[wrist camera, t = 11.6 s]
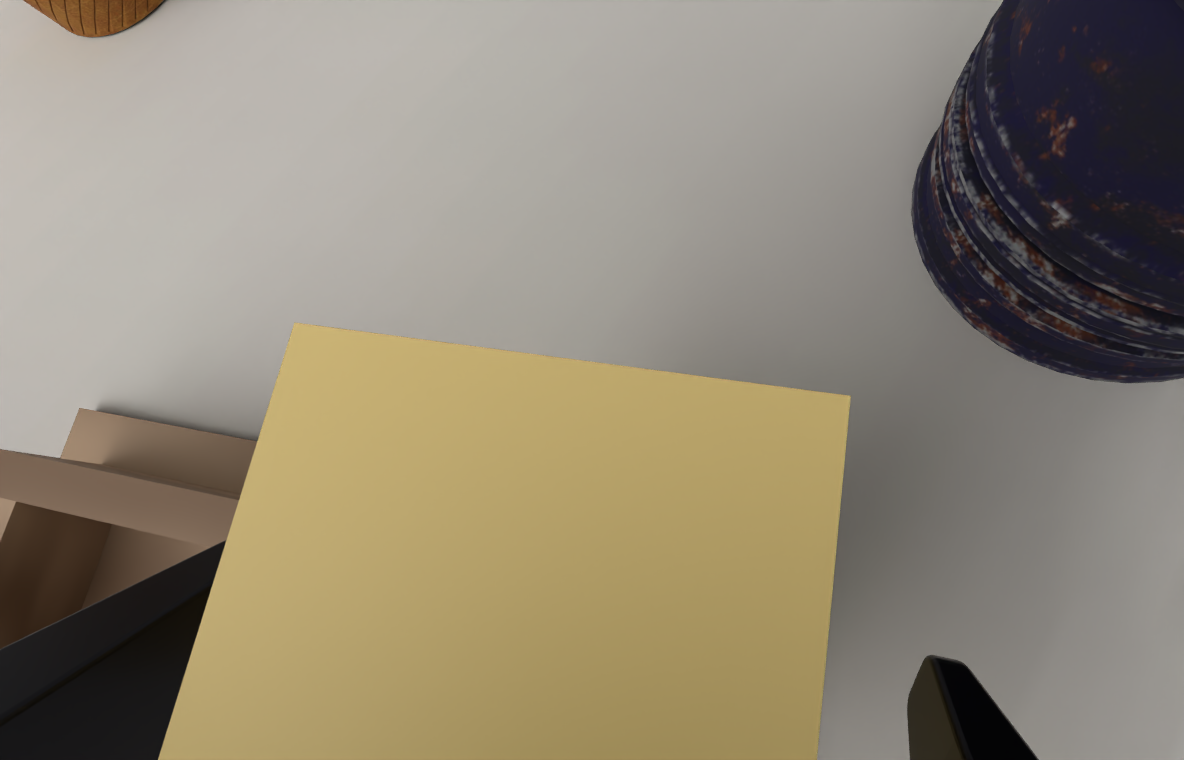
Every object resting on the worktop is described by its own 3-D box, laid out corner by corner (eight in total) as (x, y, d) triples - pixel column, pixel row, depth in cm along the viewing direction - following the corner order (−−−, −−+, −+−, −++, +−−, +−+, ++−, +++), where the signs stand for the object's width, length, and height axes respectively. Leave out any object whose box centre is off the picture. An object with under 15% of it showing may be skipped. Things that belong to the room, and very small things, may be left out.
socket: (297, 946, 16) (188, 1049, 13) (-59, 809, 18) (-227, 864, 15) (418, 472, 19) (355, 454, 15) (93, 411, 21) (-21, 384, 18)
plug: (729, 722, 15) (792, 1231, 4) (524, 671, 16) (89, 943, 5) (756, 503, 16) (864, 385, 5) (563, 470, 17) (288, 312, 6)
